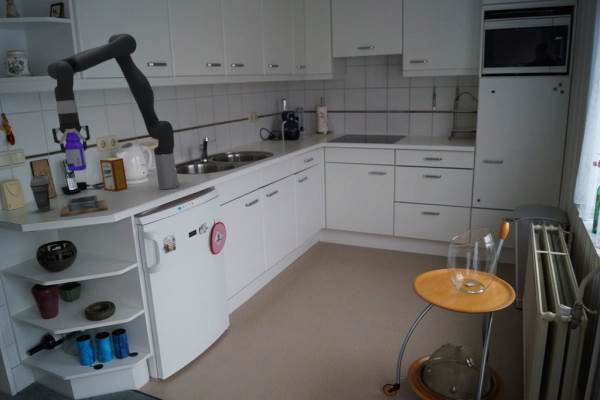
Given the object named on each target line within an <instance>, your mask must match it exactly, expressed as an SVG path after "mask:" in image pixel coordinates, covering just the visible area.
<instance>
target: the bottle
mask: <svg viewBox="0 0 600 400" xmlns="http://www.w3.org/2000/svg"><path fill="white" fill-rule="evenodd" d="M64 142H65V143H64V147H65V153H64V154H65V159H66V165H67V168H68V171H70V172H77V171H78V172H80V171H84V170H86V169H87V160H86V154H85V151H84V147H83V142H81V138H79V137H78V135H77V134H76V133H75V132H74V131H73V129H69V132H68V134H67V136H66V138H65V140H64Z"/></svg>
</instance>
